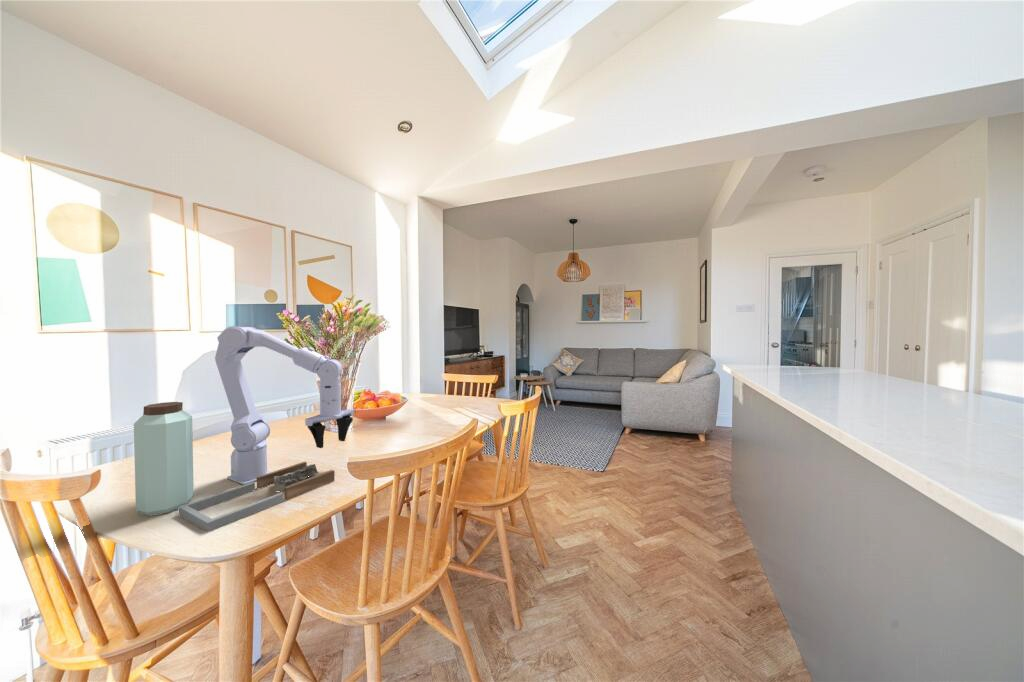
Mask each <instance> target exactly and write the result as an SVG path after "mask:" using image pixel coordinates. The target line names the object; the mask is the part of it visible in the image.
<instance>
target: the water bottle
mask: <svg viewBox="0 0 1024 682" xmlns="http://www.w3.org/2000/svg"><path fill="white" fill-rule="evenodd" d="M183 404H184V403H183V401H182V402H181V401H168V402H167V401H166V402H158V403H157V402H156V403H152V404H151V403H150V404H147V405H145V406H143V414H142V415H141V417H139V418H138V419H137V420H136V421H135V422H134V423H133V438H134V439H133V443H134V444H133V446H134V448H133V450H134V455H133V456H134V482H135V483H134V488H135V493H134V494H135V510H136V511H137V512H139V513H140V514H142V515H145V516H148V515H149V517H150V515H152V516H156V515H155V514H158V515H161V514H160V513H164V514H167V513H166V512H169V513H171V512H173V511H172V510H174V511H176V510H179V509H178V508H179V506H182V505H185V504H188V503H190V501H189V500H191V499H192V498H193V497H194V495H195V494H194V491H195V490H194V489H195V488H194V486H195V485H194V448H193V447H194V445H193V442H194V440H193V416H192V415H190V414H189V413H188V412H186V411H184V409H183ZM175 509H176V510H175ZM170 511H171V512H170Z"/></svg>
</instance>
